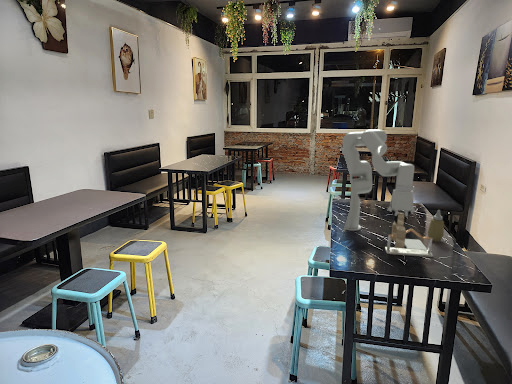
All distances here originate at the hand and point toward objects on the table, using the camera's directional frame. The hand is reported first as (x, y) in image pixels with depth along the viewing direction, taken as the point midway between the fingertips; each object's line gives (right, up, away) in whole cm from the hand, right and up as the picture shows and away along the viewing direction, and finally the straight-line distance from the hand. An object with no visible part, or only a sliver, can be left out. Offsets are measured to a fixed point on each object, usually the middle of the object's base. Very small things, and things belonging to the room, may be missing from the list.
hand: (399, 222), depth 168 cm
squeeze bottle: (+29, -12, +21) cm, 38 cm away
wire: (+6, -16, +3) cm, 18 cm away
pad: (+14, -14, +14) cm, 24 cm away
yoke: (0, -11, +3) cm, 12 cm away
